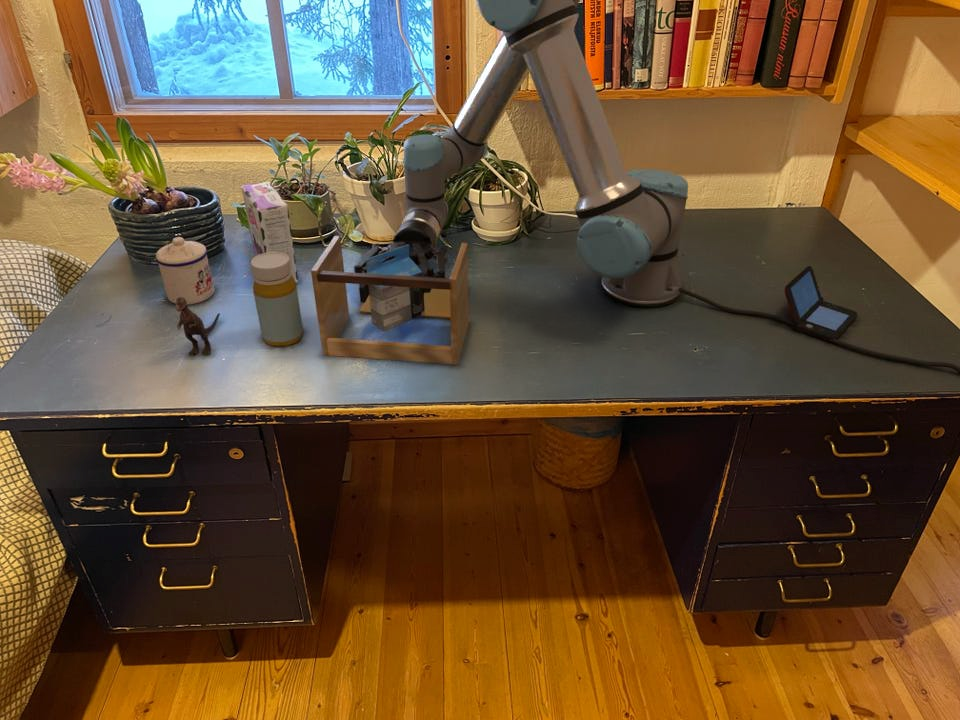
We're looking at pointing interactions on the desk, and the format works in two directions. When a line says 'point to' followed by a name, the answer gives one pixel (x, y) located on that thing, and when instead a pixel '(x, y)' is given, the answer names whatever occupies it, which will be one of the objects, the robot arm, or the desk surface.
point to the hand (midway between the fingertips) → (389, 296)
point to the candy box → (269, 222)
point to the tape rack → (333, 285)
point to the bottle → (276, 299)
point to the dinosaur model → (193, 327)
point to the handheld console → (815, 308)
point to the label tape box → (393, 290)
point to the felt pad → (427, 304)
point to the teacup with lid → (185, 271)
